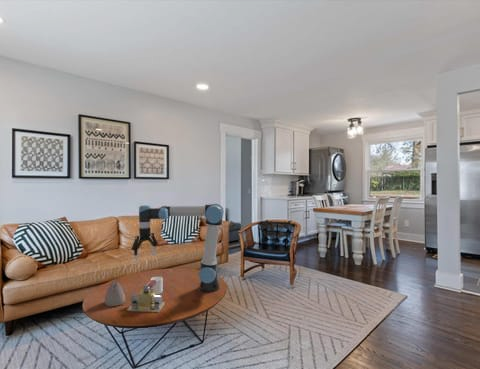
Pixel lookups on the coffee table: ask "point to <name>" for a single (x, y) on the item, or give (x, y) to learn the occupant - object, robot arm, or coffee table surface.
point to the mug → (157, 285)
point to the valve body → (146, 302)
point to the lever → (149, 286)
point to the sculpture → (114, 295)
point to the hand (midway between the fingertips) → (145, 257)
